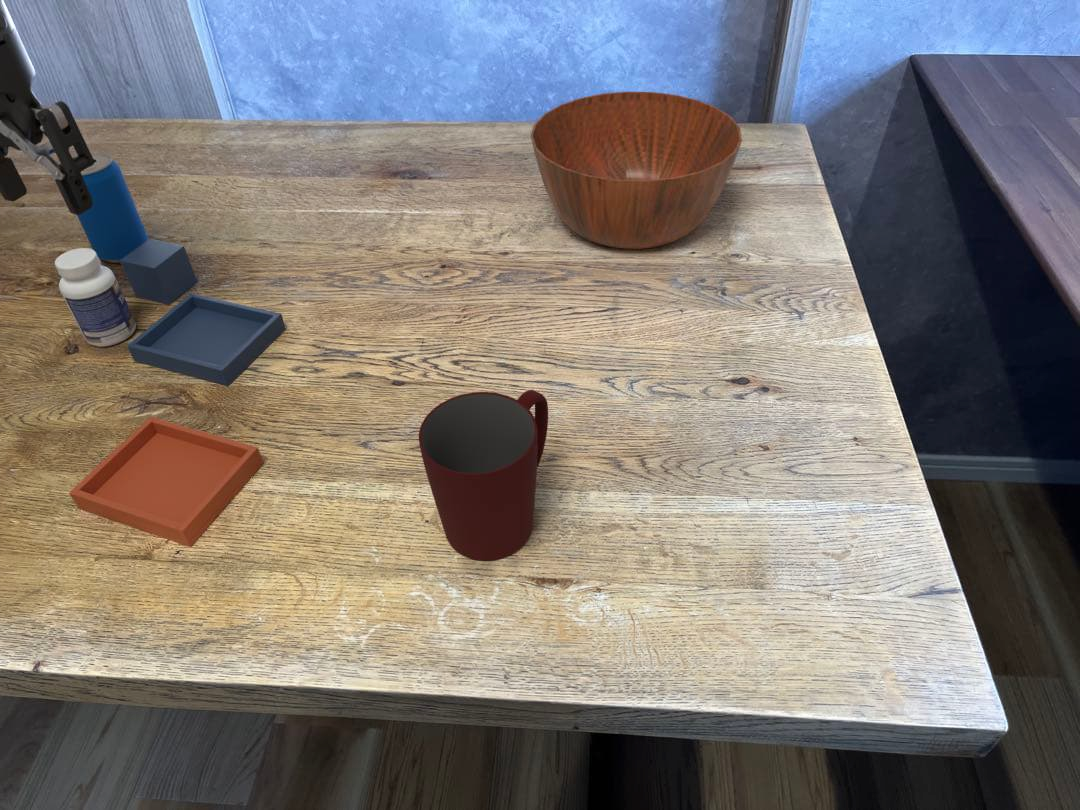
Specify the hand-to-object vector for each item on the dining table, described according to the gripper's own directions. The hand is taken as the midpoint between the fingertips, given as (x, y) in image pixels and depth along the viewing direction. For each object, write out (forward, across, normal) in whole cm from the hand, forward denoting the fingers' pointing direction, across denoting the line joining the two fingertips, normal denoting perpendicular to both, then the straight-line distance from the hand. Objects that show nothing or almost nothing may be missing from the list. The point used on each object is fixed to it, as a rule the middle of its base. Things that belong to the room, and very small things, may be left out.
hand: (49, 204), depth 80 cm
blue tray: (+16, +12, +2) cm, 20 cm away
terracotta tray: (+16, +22, -16) cm, 31 cm away
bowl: (+16, +47, +42) cm, 65 cm away
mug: (+16, +51, -9) cm, 54 cm away
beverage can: (+16, -11, +14) cm, 24 cm away
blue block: (+16, 0, +9) cm, 18 cm away
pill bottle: (+16, 0, 0) cm, 16 cm away
